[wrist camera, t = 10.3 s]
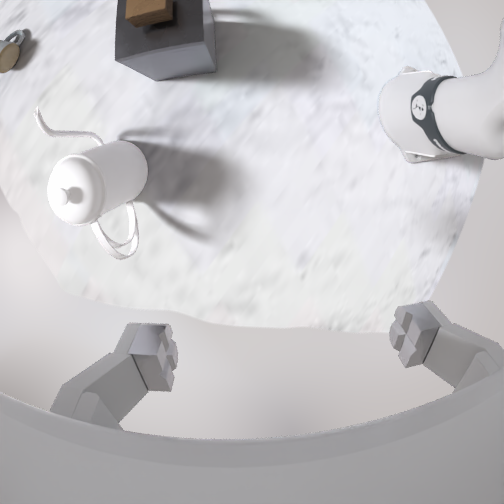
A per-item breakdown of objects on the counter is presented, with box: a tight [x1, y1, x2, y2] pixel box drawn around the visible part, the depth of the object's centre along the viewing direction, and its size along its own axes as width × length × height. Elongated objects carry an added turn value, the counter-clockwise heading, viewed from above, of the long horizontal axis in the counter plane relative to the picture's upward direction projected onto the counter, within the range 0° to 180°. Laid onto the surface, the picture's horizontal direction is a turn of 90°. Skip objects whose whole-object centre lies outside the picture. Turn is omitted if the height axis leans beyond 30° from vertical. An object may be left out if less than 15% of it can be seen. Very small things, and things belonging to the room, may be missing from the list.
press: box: [115, 0, 217, 81], centre depth 26 cm, size 10×13×16 cm
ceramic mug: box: [0, 30, 25, 73], centre depth 24 cm, size 11×8×8 cm
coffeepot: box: [34, 107, 148, 260], centre depth 33 cm, size 11×25×19 cm, turn 22°
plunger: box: [125, 0, 173, 28], centre depth 24 cm, size 7×7×19 cm
